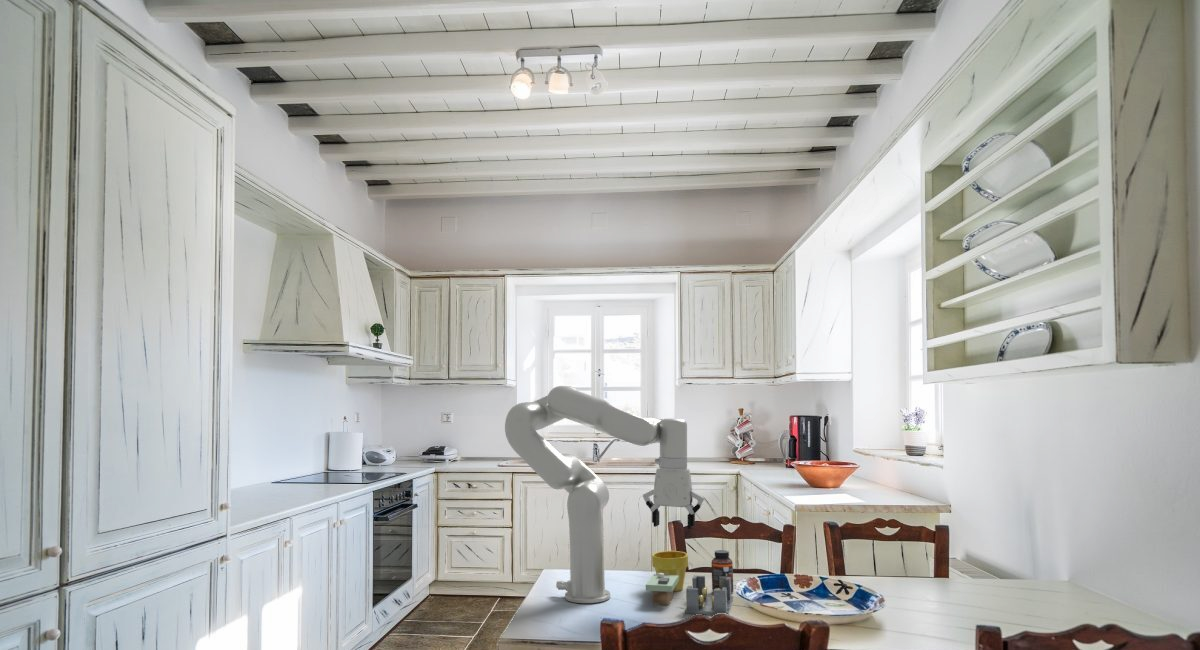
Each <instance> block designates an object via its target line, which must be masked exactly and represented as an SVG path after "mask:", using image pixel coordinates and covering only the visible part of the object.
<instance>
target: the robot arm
mask: <svg viewBox="0 0 1200 650" xmlns="http://www.w3.org/2000/svg"><path fill="white" fill-rule="evenodd" d="M564 419H567V420H570V421H573V422H576V423H577V424H578V423H579V424H580V425H583V426H586V427H589V428H592V429H594V430H596V431H598V432H601V433H604V434H607V435H608V436H611V437H614V438H616V439H619V440H622V441H623V442H627V443H630V444H632V445H635V446H640V447H645V446H649V445H653V444H657V443H658V444H659V457H658V458H655V459H654V464H655V465H658V467H657V468H656V469H655V470H656V471H655V476H654V483H653V484H654V485H653V489H652V490H650V491H647V492H645V493H643V494H642V498H643V500H644V502H645V505H646V506H647V507H648V508H649V510H650V512H651V522H652V524H653V527H658V526H659V525H660V510H659V508H660V507H669V508H670V507H671V508H685V509H686V510H687V512H688V514H687V529H688V530H692V529H693V528H694V527H695V526H696V517H695V516H696V513H697V512H698V511H699V510H700V509H701V508H702V505H703V503H704V502H705V500H706V499H705V497H704V496H702V495H700V494H699V493H697V492H695V491H694V490H693V485H692V484H693V483H692V476H691V471H690V469H689V468H688V423H687V421H686V420H685V419H683V418H657V417H650V416H646V417H641V416H637V415H635V414H632V413H630V412H627V411H624V410H621V409H619V408H617V407H615V406H613V405H612V404H611V403H610V402H608V401H607V400H604V399H602V398H599V397H597V396H593V395H590V394H588V393H585V392H581V391H580V390H578V389H577V388H575V387H573V386H569V385H559V386H555V387H553V388H552V389H550V391H549V392H548V394H547V395H545V396H543V397H541V398H538V399H536V400H535V401H528V402H527V401H526V402H520V403H517V404H515V405H514V406H512V407H511V408H510V409H509V411H508V413H507V414H506V418H505V422H504V432H505V437H506V439H507V442H508V444H509V445H510V447H511V449H512V450H514V452H515V453H516V454H517V455H518V456H519V457H520V458H521V459H522V460H523V461H524V462H525V463H526V464H527V465H528V466H529V467H530V468H531V469H532V470H533V471H534V472H535V474H537V475H538V476H539V477H540V478H541V479H542V481H544V482H545V483H546V484H547V485H548V486H549V487H550V488H551V489H554V490H565V491H566V492H567V493H568V495H567V501H566V507H567V516H568V517H567V518H568V527H569V531H568V532H569V565H570V566H569V572H570V573H569V575H570V577H569V580H567V581H563V580H562V581H559V580H558V581H556V585H555V588H556V589H557V590H560V591H561V590H562V591H563V590H565V591H566V592H565V594H564V599H565V600H566V601H569V602H571V603H574V604H575V603H576V604H577V603H578V604H594V603H595V604H597V603H602V602H605V601H607V600H609V599H610V598H611V592H610V591H609V590H608V589H605V585H606V583H605V542H604V541H605V540H604V537H605V536H604V521H603V514H602V513H603V511H602V510H604V508H605V507H607V505H608V503H609V499H610V492H609V489H608V487H607V485H606V484H605V482H603V480H602V479H601V478H600V477H599V476H598V475H596V474H595V472H593V470H591V469H590V468H589V467H588V466H587V465H586V464H585V463H584V462H583V461H582V460H581V459H580V458H578V457H576V456H575V455H573V454H570V453H560V452H559V451H558V450H557V449H556V448H555V447H553V446H552V445H551V443H550V442H549V441H547V440H546V439H545V438H544V437H542V436H541V435H540V434H539V433H538V431H539V430H542V429H544V428H546V427H548V426H551V425H553V424H556V423H557V422H560V421H562V420H564ZM650 497H653V501H652V500H651V498H650ZM693 499H696V500H697V502H696V504H695V506H694V505H693Z"/></svg>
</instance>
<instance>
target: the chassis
mask: <svg viewBox="0 0 1200 650" xmlns="http://www.w3.org/2000/svg"><path fill="white" fill-rule="evenodd" d="M691 580H692V581H691V582H692V585H687V586H686V588H685V593H686V597H685V598H686V607H685V609H684V615H685V614H687V615H703V614H704V616H705V615H706V616H707V615H708V616H715V615H714V614H717V613H726V614H728V615H729V614H730V611H731V608H732V606H733V601H734V596H733V595H732V593H731V577H719V588H715V589H714V592H713V594H708V588H707V587H706V576H705V575H693V577H692V579H691ZM691 613H693V614H691Z"/></svg>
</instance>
